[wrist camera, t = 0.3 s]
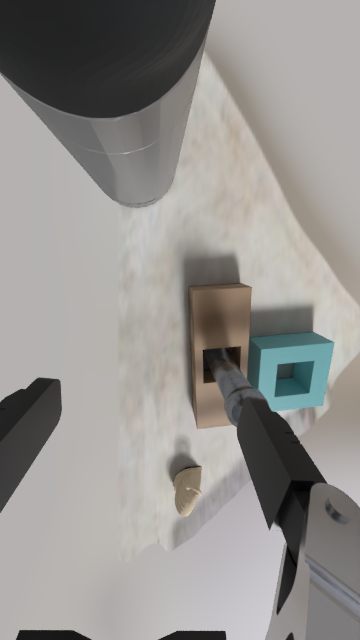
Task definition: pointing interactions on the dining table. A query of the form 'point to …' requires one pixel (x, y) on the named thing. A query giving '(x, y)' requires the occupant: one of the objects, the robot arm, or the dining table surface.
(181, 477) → the decorative ornament
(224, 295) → the beam
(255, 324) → the dining table surface
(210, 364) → the axle
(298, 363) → the holder
